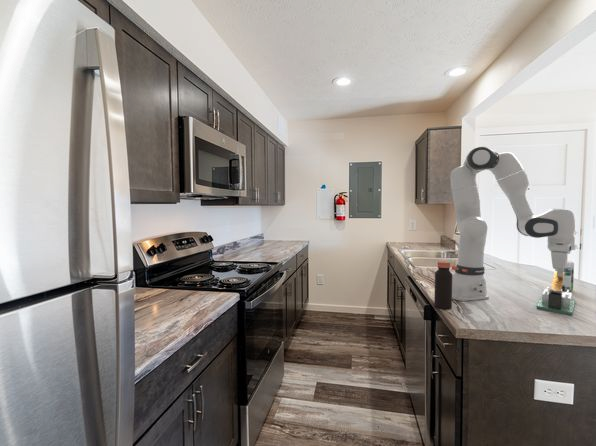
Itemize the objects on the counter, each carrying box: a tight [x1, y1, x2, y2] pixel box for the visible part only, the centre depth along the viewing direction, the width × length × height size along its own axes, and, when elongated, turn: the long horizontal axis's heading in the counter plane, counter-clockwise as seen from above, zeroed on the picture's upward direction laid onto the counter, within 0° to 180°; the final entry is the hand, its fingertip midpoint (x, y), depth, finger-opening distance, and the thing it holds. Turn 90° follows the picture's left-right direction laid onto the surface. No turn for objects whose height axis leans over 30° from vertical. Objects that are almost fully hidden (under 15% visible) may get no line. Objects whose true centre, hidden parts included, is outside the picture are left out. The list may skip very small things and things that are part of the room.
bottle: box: [433, 260, 453, 310], centre depth 125 cm, size 7×7×20 cm
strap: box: [549, 270, 564, 294], centre depth 126 cm, size 18×4×1 cm, turn 134°
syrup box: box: [554, 260, 575, 291], centre depth 150 cm, size 6×6×14 cm
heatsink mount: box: [536, 285, 576, 316], centre depth 126 cm, size 23×11×7 cm, turn 134°
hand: (560, 276), depth 128 cm, fingers closed
